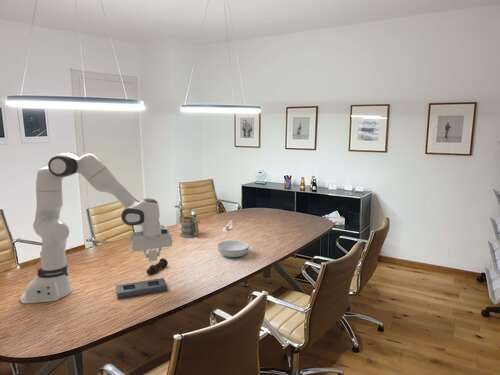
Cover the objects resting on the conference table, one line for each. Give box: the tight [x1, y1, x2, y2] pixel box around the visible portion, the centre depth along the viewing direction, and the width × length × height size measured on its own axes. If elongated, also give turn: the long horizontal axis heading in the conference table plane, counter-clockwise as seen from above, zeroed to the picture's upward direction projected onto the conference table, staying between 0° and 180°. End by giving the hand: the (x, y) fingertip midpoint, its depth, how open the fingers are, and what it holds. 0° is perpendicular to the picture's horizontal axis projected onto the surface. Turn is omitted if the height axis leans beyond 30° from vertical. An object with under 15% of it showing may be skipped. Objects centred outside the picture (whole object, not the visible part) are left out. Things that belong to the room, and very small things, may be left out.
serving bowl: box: [216, 239, 250, 258], centre depth 242 cm, size 21×21×7 cm
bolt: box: [146, 257, 169, 275], centre depth 215 cm, size 6×5×15 cm
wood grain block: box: [147, 248, 158, 262], centre depth 188 cm, size 4×4×5 cm
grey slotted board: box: [115, 277, 168, 300], centre depth 189 cm, size 24×10×3 cm, turn 113°
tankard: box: [179, 216, 201, 239], centre depth 282 cm, size 20×13×15 cm, turn 43°
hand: (152, 256), depth 188 cm, fingers closed on wood grain block, 4 cm apart
